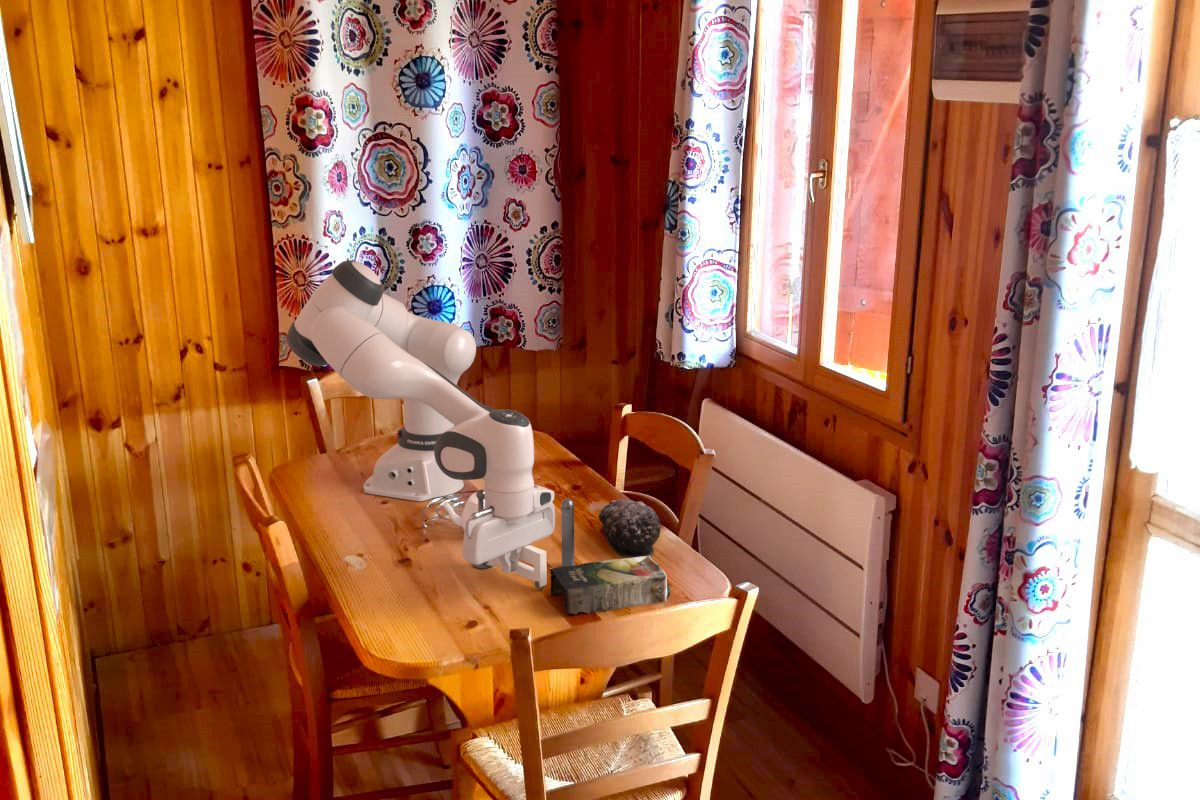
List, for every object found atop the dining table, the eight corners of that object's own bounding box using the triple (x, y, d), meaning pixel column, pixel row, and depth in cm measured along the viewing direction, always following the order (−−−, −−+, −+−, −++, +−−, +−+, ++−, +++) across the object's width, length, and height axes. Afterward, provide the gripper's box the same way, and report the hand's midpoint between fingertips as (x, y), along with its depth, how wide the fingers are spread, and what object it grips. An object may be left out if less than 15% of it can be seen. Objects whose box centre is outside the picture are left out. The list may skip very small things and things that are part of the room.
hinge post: (469, 568, 207) (466, 493, 203) (475, 558, 211) (473, 484, 207) (491, 570, 206) (489, 494, 202) (497, 560, 211) (495, 486, 206)
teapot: (447, 551, 215) (446, 503, 212) (435, 528, 226) (433, 482, 223) (545, 538, 221) (544, 491, 218) (528, 516, 232) (527, 471, 229)
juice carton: (652, 579, 203) (653, 549, 202) (673, 602, 195) (673, 571, 193) (549, 596, 197) (549, 565, 195) (566, 621, 188) (565, 589, 186)
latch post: (560, 567, 208) (560, 500, 204) (563, 562, 210) (562, 496, 206) (573, 568, 207) (572, 501, 203) (575, 563, 209) (575, 497, 206)
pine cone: (626, 524, 228) (626, 479, 226) (670, 555, 213) (671, 508, 210) (581, 533, 224) (581, 487, 221) (623, 566, 209) (623, 517, 206)
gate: (488, 568, 206) (487, 533, 204) (495, 565, 208) (495, 530, 206) (539, 590, 197) (539, 554, 195) (547, 587, 199) (547, 551, 197)
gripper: (478, 520, 186) (479, 594, 189) (560, 489, 200) (560, 559, 204) (453, 511, 190) (455, 583, 193) (536, 481, 204) (536, 549, 208)
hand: (510, 571), depth 199 cm, fingers closed
